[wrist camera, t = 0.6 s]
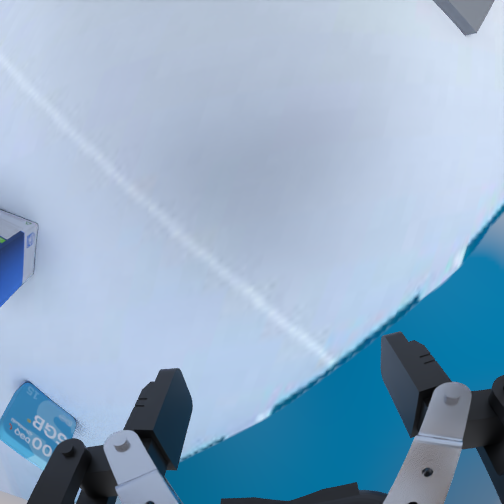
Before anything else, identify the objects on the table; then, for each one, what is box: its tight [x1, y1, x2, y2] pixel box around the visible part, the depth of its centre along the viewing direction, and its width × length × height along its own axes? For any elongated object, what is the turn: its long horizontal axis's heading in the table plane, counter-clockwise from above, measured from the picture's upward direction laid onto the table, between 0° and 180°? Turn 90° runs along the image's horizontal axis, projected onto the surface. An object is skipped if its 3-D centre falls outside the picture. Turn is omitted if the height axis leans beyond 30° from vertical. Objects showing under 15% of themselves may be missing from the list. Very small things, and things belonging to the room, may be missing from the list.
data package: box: [0, 383, 76, 470], centre depth 37 cm, size 12×4×12 cm, turn 37°
